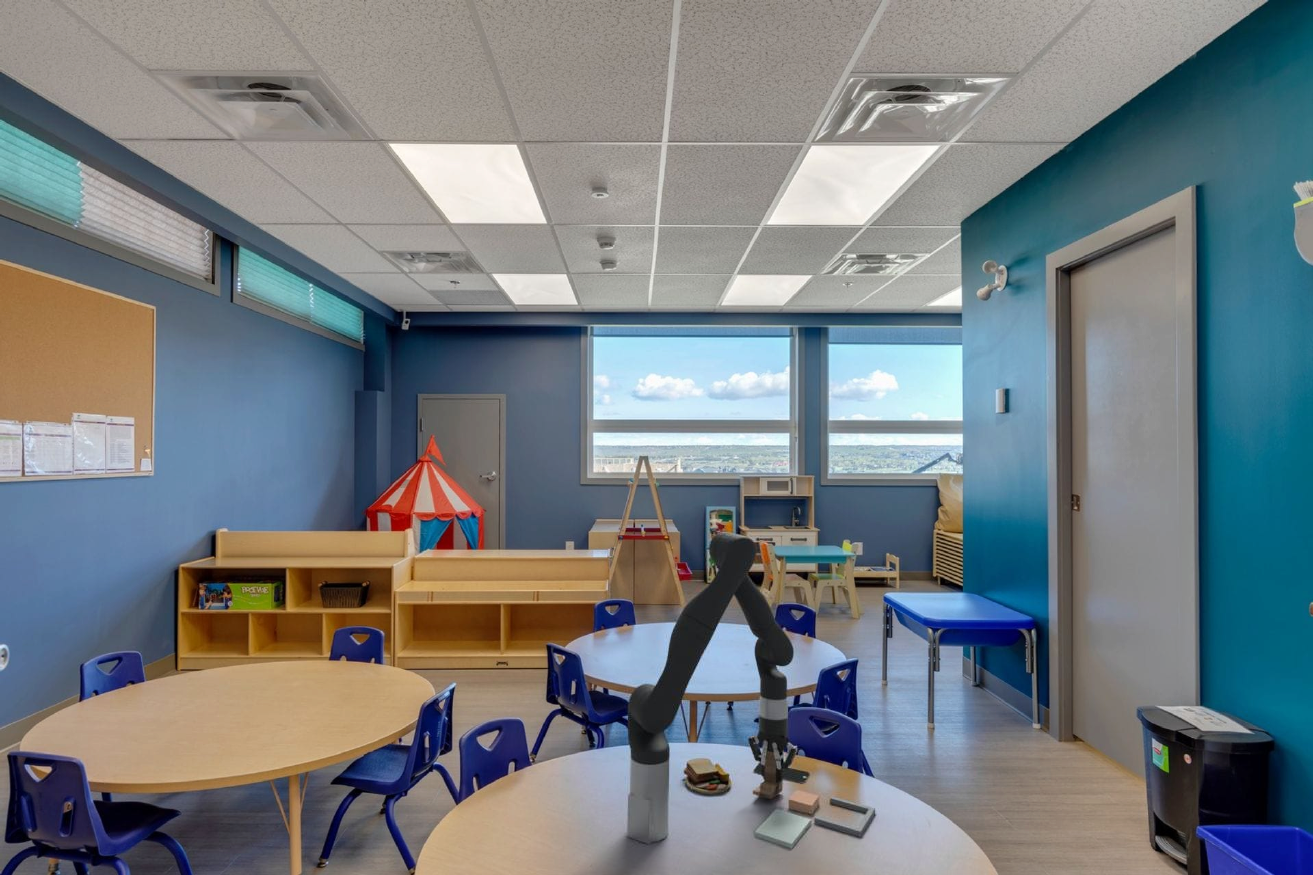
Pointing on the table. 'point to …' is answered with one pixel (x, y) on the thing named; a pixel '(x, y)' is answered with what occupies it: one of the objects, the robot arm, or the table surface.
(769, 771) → the brown block
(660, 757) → the robot arm
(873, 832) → the table surface
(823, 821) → the bay
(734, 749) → the table surface
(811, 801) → the tile
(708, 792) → the toy sandwich meal
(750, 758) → the table surface
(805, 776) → the smartphone
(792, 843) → the board
